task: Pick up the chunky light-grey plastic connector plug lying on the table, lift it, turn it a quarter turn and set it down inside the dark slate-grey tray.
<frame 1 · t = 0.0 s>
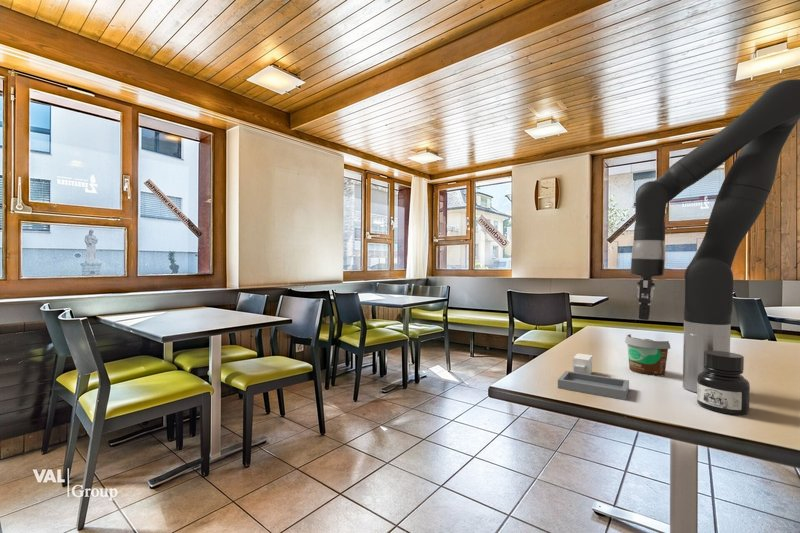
hand: (644, 317, 105), 17 cm above the table, tool pointing down, fingers open, 8 cm apart
ink bottle: (722, 408, 86), on the table
food container: (641, 372, 114), on the table
plug: (582, 373, 112), on the table
tray: (593, 388, 98), on the table
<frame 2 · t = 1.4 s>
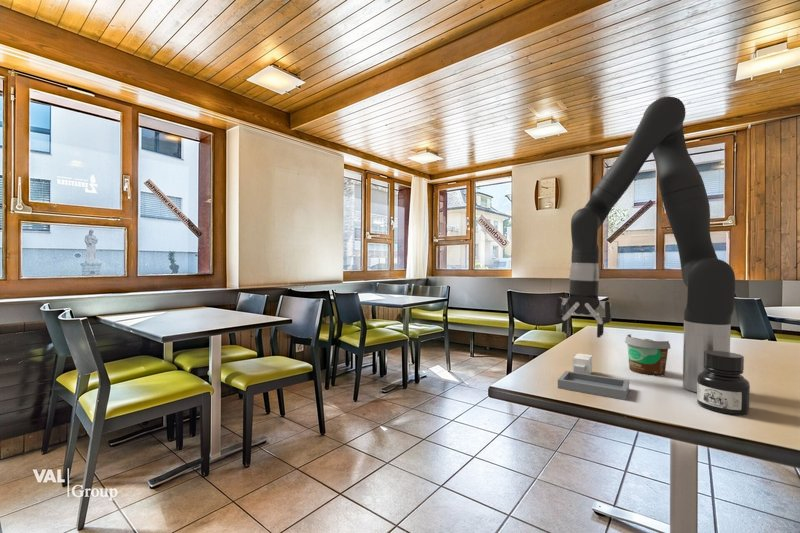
hand: (582, 335, 112), 11 cm above the table, tool pointing down, fingers open, 8 cm apart
nothing on the table moved.
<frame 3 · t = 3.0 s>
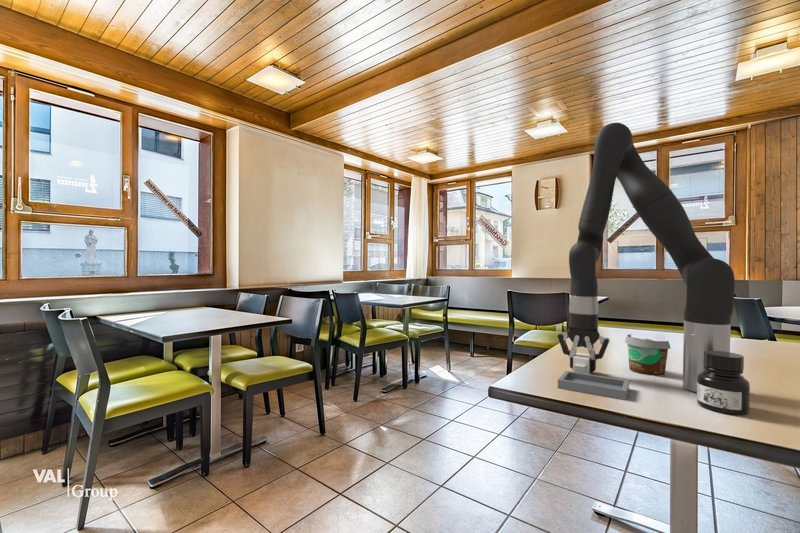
hand: (582, 370, 112), 1 cm above the table, tool pointing down, fingers closed on plug, 4 cm apart
plug: (582, 373, 112), on the table, touching gripper
everything else where it was.
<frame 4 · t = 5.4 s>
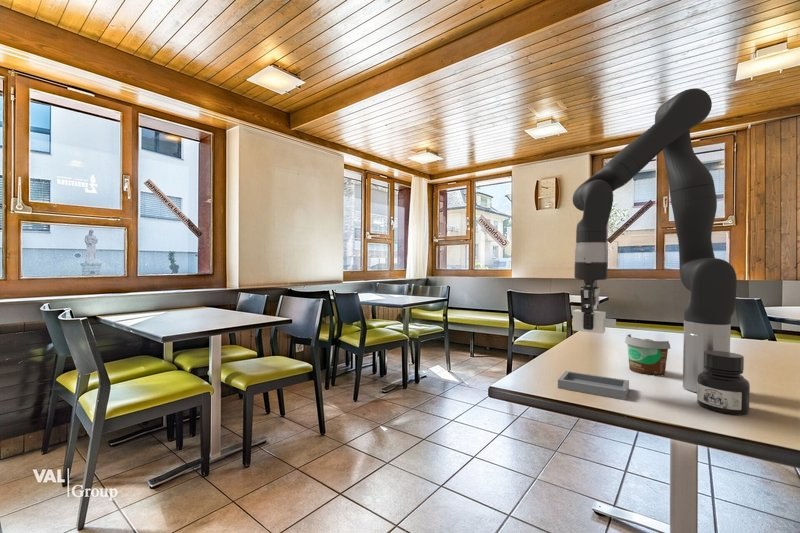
hand: (589, 327, 99), 15 cm above the table, tool pointing down, fingers closed on plug, 4 cm apart
plug: (588, 330, 99), point 14 cm above the table, touching gripper
everything else where it was.
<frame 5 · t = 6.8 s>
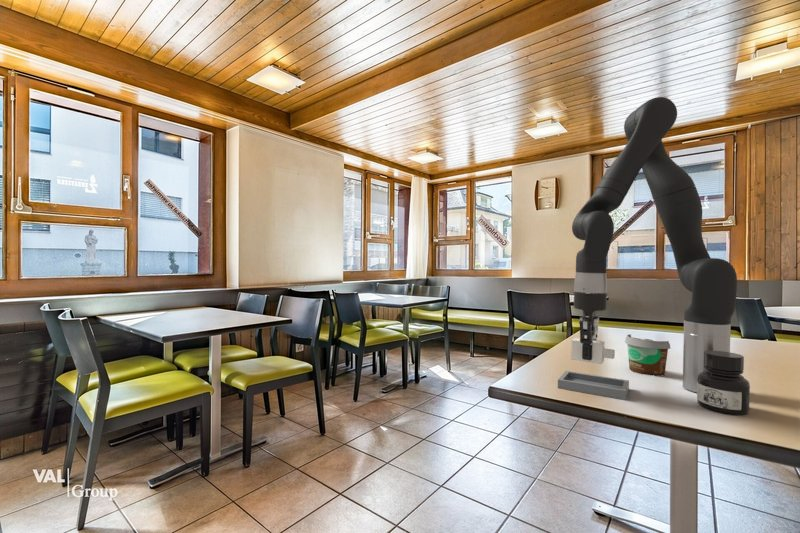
hand: (588, 357, 99), 8 cm above the table, tool pointing down, fingers closed on plug, 4 cm apart
plug: (587, 360, 99), point 7 cm above the table, touching gripper
everything else where it was.
when the fingers open (3 cm above the table, at t = 8.1 s): plug drops 1 cm, resting on tray.
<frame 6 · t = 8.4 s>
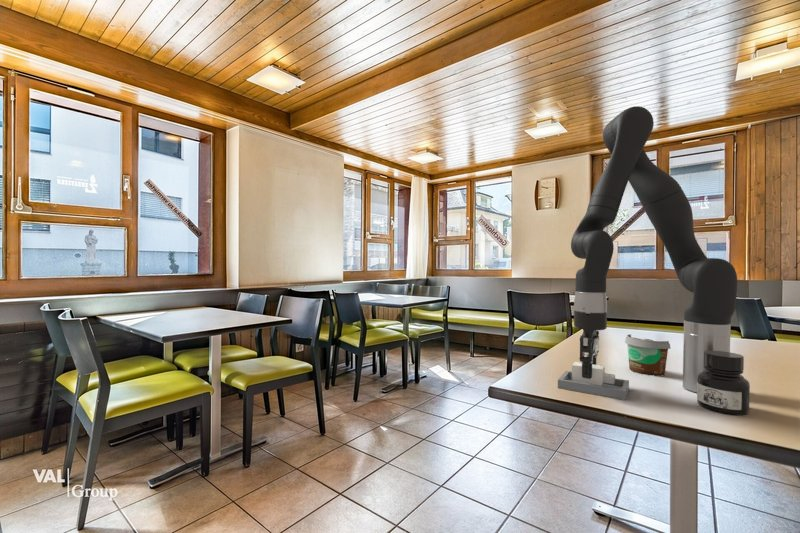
hand: (589, 374, 99), 3 cm above the table, tool pointing down, fingers open, 7 cm apart
plug: (588, 385, 99), point 1 cm above the table, touching tray
everything else where it was.
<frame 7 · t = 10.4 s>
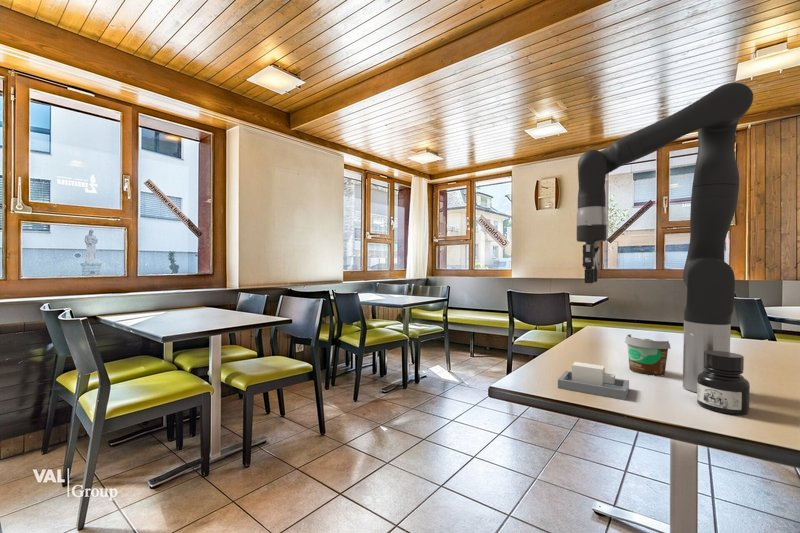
hand: (591, 282, 108), 26 cm above the table, tool pointing down, fingers open, 8 cm apart
nothing on the table moved.
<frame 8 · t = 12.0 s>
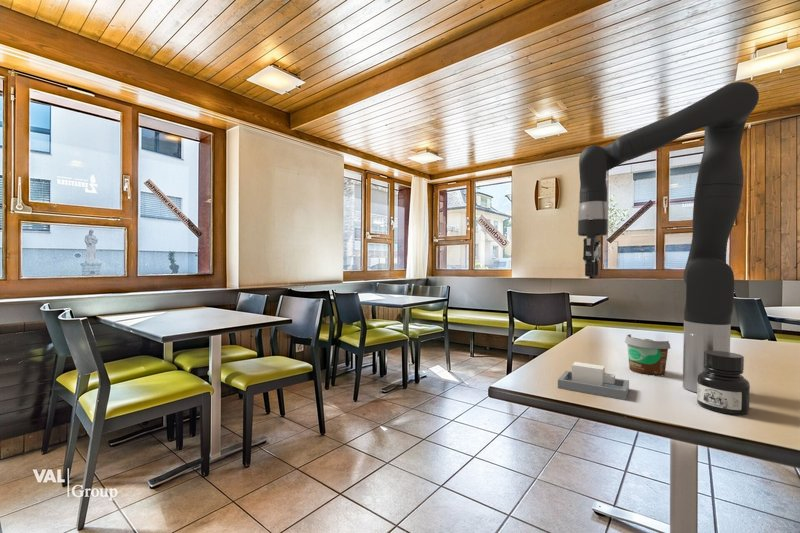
hand: (591, 276, 110), 28 cm above the table, tool pointing down, fingers open, 8 cm apart
nothing on the table moved.
at the end: plug inside the target area on the tray (1.2 cm from its centre), point 0.6 cm above the tray's base; plug tilted 0°; the gripper is holding nothing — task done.
